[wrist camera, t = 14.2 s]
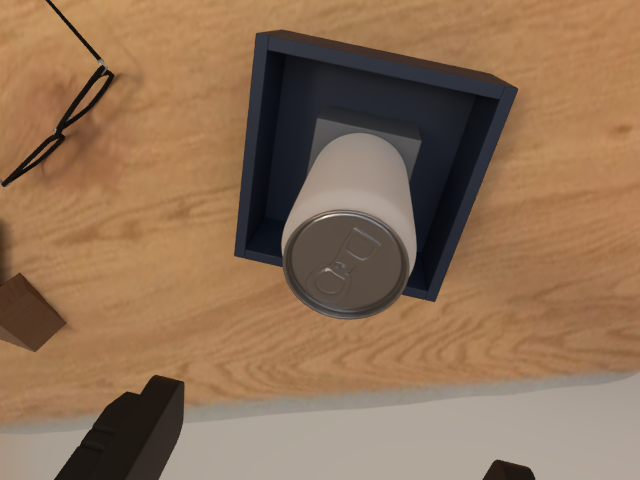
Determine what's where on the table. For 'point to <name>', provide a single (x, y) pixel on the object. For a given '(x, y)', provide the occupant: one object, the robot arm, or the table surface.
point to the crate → (379, 99)
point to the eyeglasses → (66, 118)
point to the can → (351, 230)
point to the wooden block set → (26, 315)
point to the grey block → (349, 121)
